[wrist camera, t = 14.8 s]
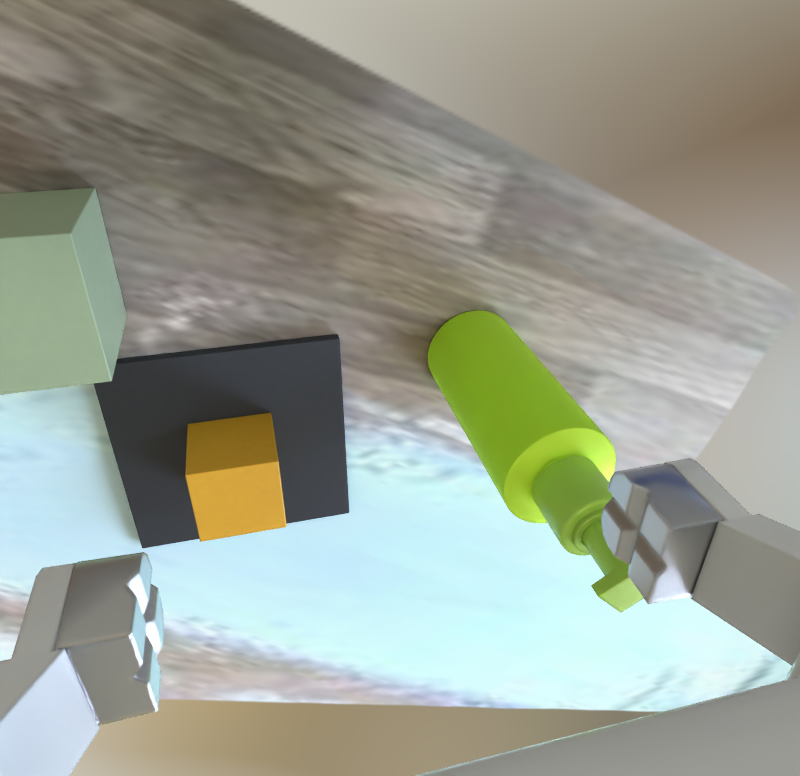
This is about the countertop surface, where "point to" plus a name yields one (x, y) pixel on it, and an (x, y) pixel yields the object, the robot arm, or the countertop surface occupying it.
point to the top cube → (234, 476)
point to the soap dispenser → (531, 439)
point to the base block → (56, 292)
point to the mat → (221, 399)
